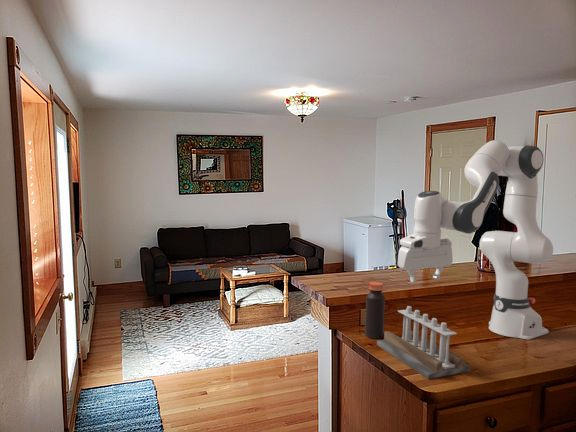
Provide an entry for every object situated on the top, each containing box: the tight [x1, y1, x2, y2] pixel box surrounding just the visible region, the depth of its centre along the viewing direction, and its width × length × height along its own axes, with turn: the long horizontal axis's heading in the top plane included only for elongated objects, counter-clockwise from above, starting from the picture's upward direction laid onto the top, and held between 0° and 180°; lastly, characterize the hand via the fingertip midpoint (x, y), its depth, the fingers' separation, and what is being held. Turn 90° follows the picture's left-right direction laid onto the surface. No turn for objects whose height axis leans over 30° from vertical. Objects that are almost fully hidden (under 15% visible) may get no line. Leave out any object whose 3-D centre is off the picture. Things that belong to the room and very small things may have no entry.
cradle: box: [376, 329, 471, 380], centre depth 153 cm, size 16×28×4 cm, turn 22°
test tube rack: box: [397, 305, 458, 370], centre depth 152 cm, size 25×4×13 cm, turn 22°
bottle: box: [364, 281, 386, 340], centre depth 171 cm, size 7×7×20 cm
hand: (424, 280), depth 155 cm, fingers open, 8 cm apart
